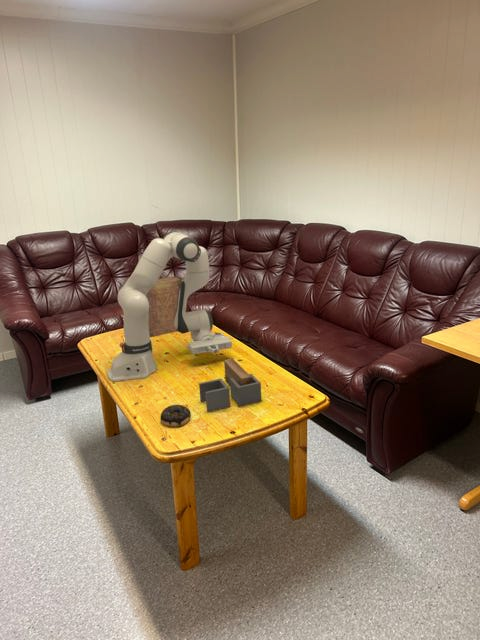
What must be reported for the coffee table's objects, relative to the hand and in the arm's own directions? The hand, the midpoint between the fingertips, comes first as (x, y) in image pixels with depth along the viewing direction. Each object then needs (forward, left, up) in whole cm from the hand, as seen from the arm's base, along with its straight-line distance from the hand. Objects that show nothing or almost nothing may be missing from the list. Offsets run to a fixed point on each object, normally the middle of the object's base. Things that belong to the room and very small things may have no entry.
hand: (215, 351), depth 208 cm
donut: (-29, -36, -9) cm, 47 cm away
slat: (+1, -25, -8) cm, 26 cm away
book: (-10, +62, -8) cm, 63 cm away
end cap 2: (+1, -33, -8) cm, 34 cm away
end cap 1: (-12, -32, -8) cm, 35 cm away
